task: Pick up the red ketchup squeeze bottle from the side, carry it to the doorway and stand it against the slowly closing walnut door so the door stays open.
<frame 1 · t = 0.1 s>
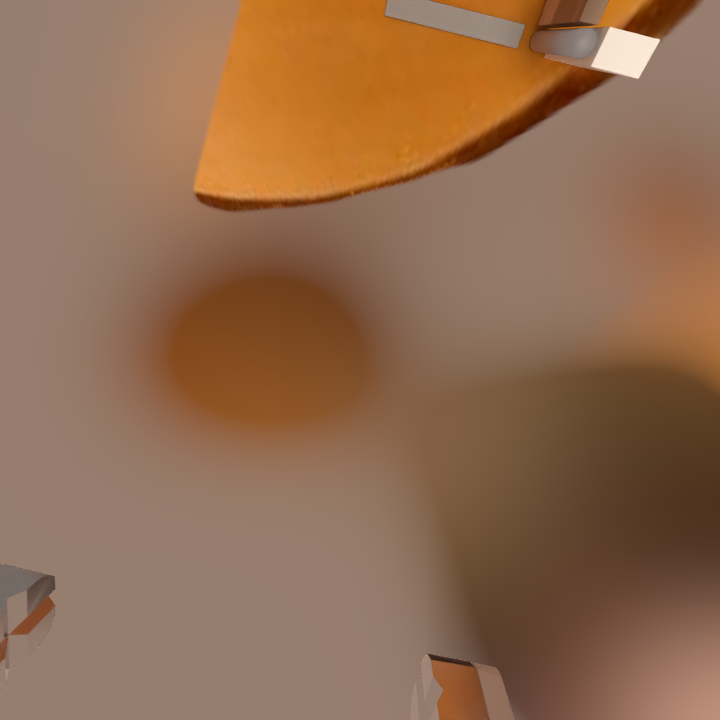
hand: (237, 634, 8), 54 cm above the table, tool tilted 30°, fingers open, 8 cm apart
white-tipped grey slat: (538, 41, 40), on the table
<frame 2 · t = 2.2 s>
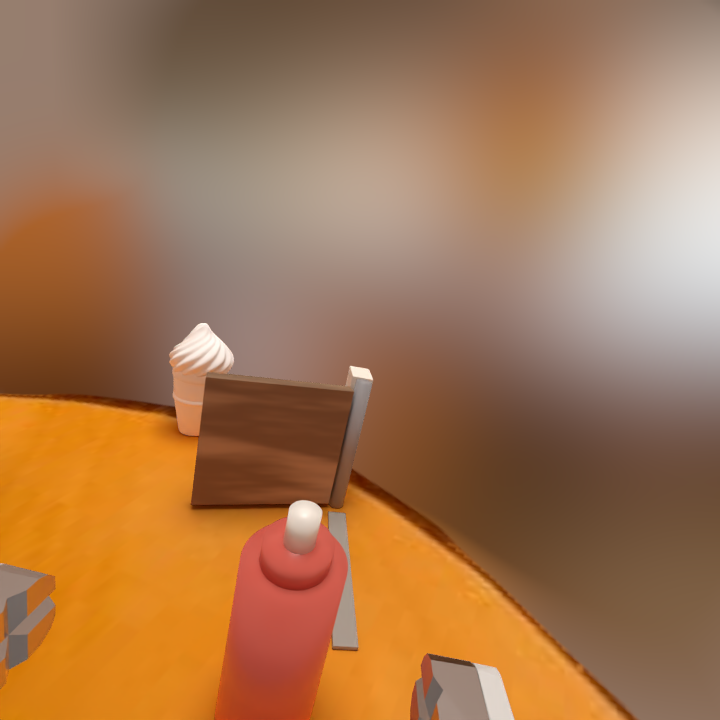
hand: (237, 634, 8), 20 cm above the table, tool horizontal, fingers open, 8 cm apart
white-tipped grey slat: (335, 503, 45), on the table
ketchup bottle: (264, 708, 23), on the table
soft serve ice cream cone: (194, 430, 54), on the table
door: (272, 440, 40), point 8 cm above the table, hinge at 79.0°
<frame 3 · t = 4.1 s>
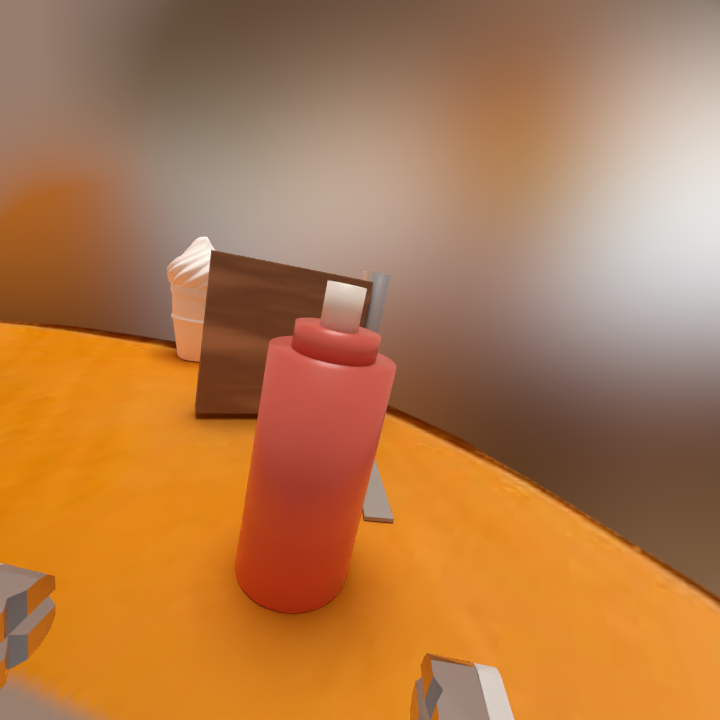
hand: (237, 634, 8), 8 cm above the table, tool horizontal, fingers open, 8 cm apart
white-tipped grey slat: (351, 416, 41), on the table
ketchup bottle: (292, 562, 20), on the table
soft serve ice cream cone: (194, 358, 50), on the table
door: (284, 340, 36), point 8 cm above the table, hinge at 72.7°
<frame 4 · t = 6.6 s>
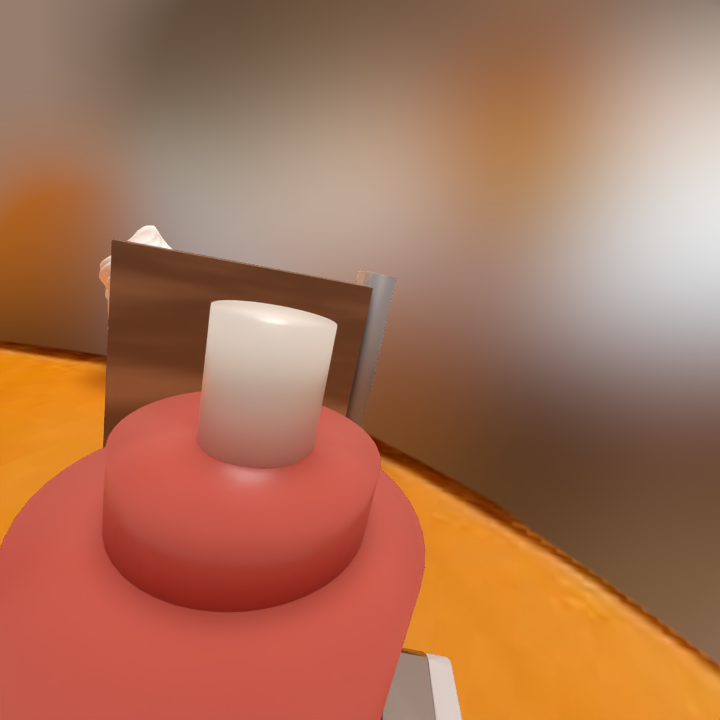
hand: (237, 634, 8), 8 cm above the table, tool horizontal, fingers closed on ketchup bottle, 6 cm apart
white-tipped grey slat: (341, 469, 30), on the table
soft serve ice cream cone: (142, 382, 39), on the table
door: (245, 375, 24), point 8 cm above the table, hinge at 66.2°
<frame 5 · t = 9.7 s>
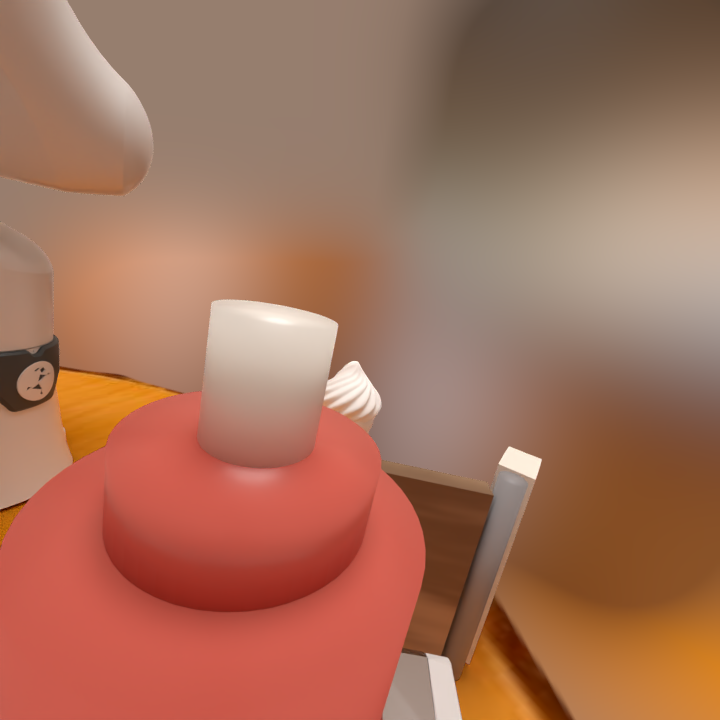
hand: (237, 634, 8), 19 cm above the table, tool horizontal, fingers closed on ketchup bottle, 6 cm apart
white-tipped grey slat: (448, 667, 27), on the table
soft serve ice cream cone: (331, 479, 48), on the table
door: (355, 548, 26), point 8 cm above the table, hinge at 60.5°
when the fingers open (9 cm above the table, at t = 13.2 s): ketchup bottle drops 1 cm, on the table.
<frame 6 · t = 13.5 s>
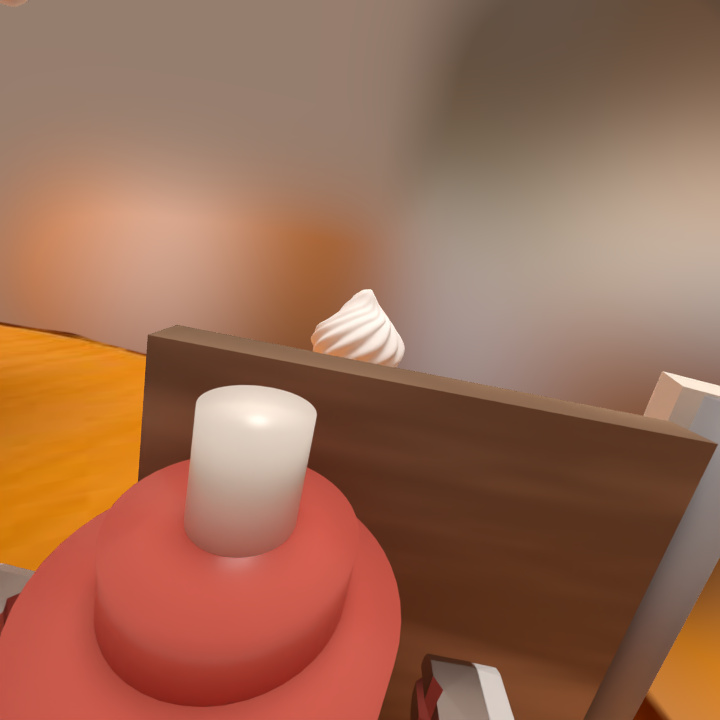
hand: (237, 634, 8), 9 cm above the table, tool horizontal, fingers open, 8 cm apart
soft serve ice cream cone: (334, 456, 35), on the table
door: (383, 573, 12), point 8 cm above the table, hinge at 55.8°
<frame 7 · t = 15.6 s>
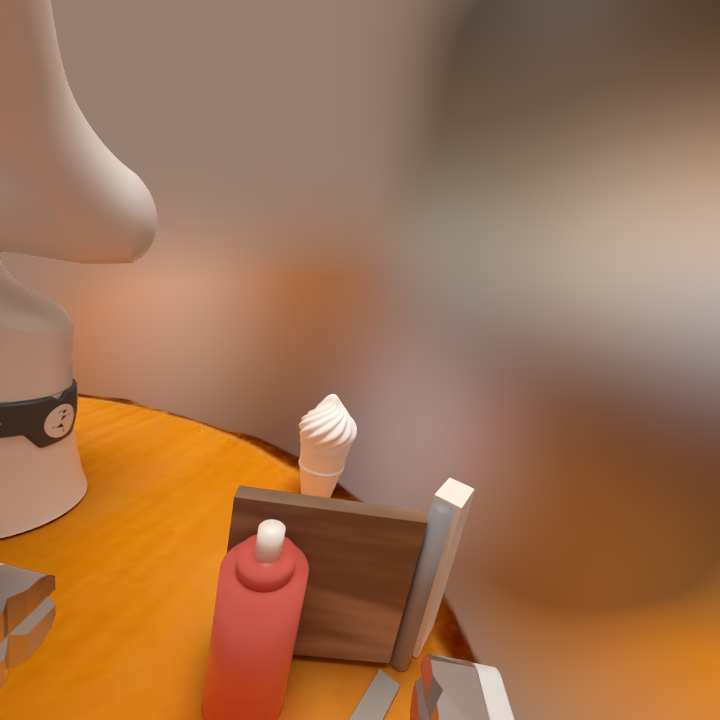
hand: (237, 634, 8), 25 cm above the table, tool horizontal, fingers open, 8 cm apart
white-tipped grey slat: (399, 661, 33), on the table
ketchup bottle: (244, 696, 28), on the table, touching door
soft serve ice cream cone: (314, 497, 54), on the table
door: (318, 571, 31), point 8 cm above the table, hinge at 54.0°, touching ketchup bottle
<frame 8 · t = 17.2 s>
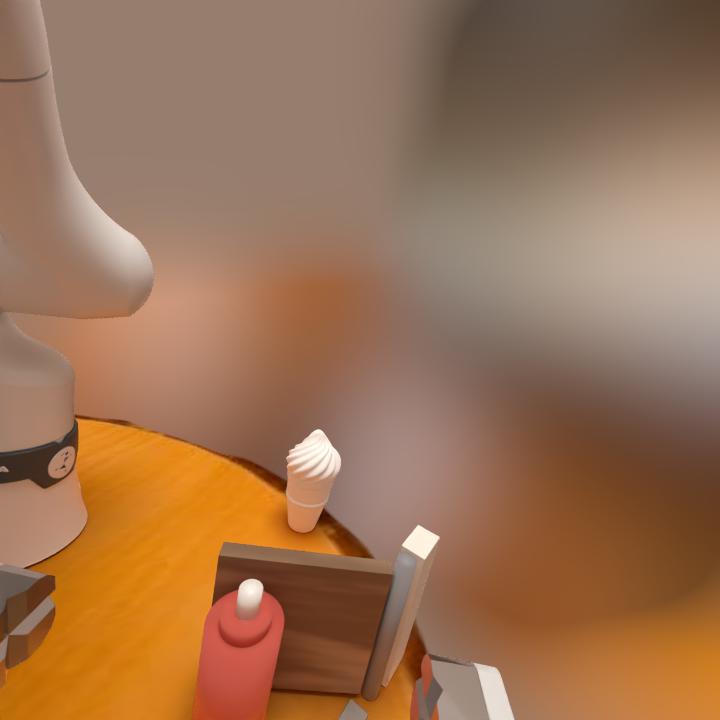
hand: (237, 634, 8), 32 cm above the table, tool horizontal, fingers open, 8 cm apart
white-tipped grey slat: (369, 690, 37), on the table
soft serve ice cream cone: (301, 524, 57), on the table
door: (296, 614, 34), point 8 cm above the table, hinge at 53.0°, touching ketchup bottle
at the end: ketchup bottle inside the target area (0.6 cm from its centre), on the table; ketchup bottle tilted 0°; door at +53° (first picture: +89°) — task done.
